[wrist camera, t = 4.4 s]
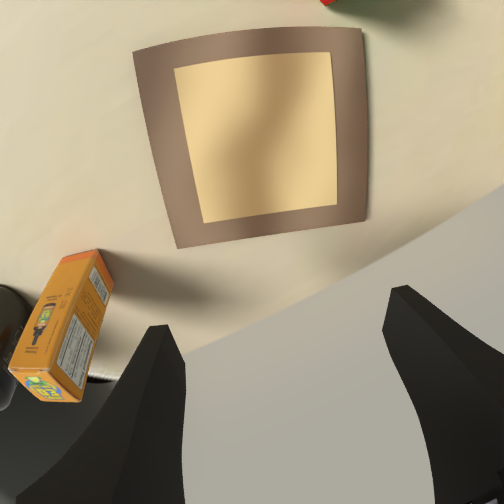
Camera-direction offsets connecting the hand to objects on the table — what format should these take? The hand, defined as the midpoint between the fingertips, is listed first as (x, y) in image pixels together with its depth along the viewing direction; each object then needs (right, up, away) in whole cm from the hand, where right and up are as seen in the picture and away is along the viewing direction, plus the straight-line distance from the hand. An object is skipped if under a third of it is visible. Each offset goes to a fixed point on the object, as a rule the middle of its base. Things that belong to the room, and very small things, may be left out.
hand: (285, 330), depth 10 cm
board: (0, +9, +7) cm, 11 cm away
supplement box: (-13, +1, +11) cm, 16 cm away
